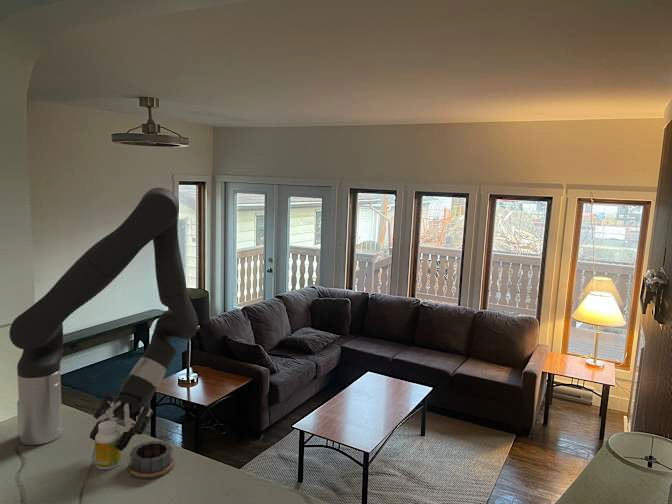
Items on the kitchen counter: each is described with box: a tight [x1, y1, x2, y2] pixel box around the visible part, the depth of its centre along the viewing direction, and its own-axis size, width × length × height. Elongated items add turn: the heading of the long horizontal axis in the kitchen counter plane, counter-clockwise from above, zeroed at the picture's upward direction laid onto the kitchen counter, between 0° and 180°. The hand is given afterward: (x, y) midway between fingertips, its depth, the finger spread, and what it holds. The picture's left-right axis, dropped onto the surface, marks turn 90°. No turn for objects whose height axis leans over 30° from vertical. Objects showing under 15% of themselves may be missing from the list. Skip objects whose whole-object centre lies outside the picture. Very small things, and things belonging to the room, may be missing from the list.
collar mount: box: [127, 440, 175, 480], centre depth 117 cm, size 10×10×4 cm
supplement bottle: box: [94, 420, 122, 470], centre depth 117 cm, size 5×5×10 cm
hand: (105, 444), depth 116 cm, fingers open, 8 cm apart
